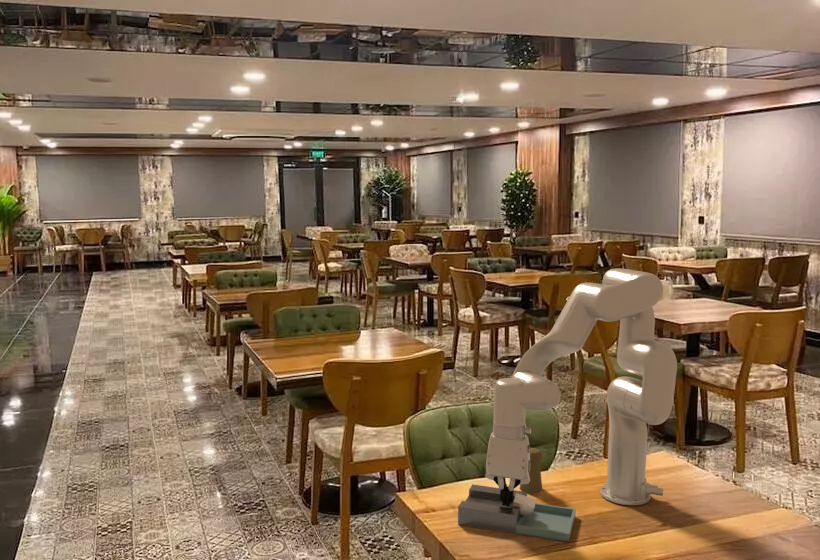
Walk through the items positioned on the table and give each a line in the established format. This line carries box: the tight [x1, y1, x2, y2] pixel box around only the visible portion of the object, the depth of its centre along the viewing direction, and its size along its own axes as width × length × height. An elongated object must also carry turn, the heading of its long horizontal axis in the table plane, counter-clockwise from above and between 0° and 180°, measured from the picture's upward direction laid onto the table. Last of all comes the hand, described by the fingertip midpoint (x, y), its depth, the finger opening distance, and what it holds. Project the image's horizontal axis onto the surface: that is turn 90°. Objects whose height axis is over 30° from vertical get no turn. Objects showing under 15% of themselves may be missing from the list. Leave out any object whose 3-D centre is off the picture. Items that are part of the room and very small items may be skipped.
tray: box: [515, 502, 577, 543], centre depth 173 cm, size 12×14×2 cm
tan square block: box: [512, 493, 537, 518], centre depth 174 cm, size 5×5×2 cm
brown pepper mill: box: [519, 447, 543, 495], centre depth 194 cm, size 6×6×11 cm
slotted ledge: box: [457, 484, 528, 535], centre depth 177 cm, size 14×14×4 cm
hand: (506, 503), depth 176 cm, fingers closed
